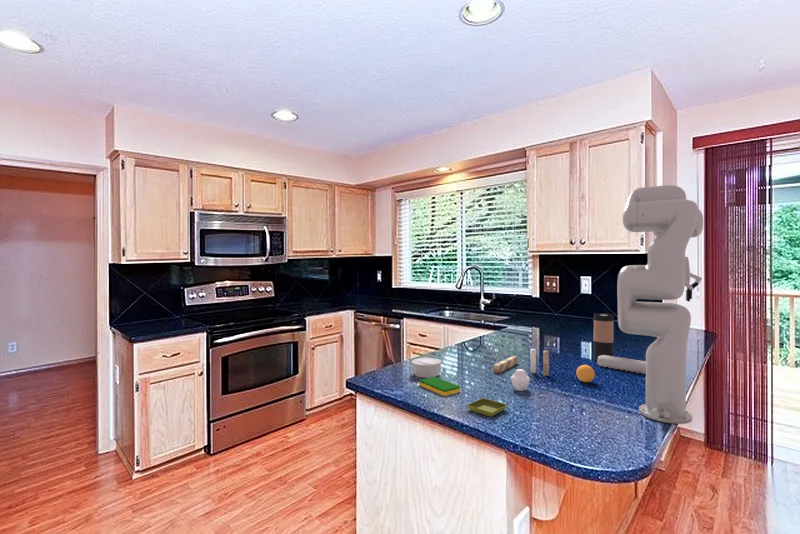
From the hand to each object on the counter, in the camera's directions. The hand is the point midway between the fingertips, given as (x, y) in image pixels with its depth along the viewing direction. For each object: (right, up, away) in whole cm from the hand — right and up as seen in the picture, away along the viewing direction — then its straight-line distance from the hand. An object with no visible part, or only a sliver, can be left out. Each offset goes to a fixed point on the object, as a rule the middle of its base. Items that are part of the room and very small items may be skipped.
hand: (671, 300), depth 148 cm
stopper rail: (-55, -29, +17) cm, 64 cm away
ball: (-32, -26, -2) cm, 41 cm away
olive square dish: (-72, -31, -28) cm, 83 cm away
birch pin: (-43, -29, +7) cm, 52 cm away
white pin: (-47, -29, +10) cm, 56 cm away
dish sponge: (-85, -30, -8) cm, 90 cm away
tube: (-8, -29, +12) cm, 32 cm away
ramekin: (-88, -29, +9) cm, 93 cm away
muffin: (-57, -29, -9) cm, 65 cm away
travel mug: (-11, -28, +27) cm, 41 cm away
